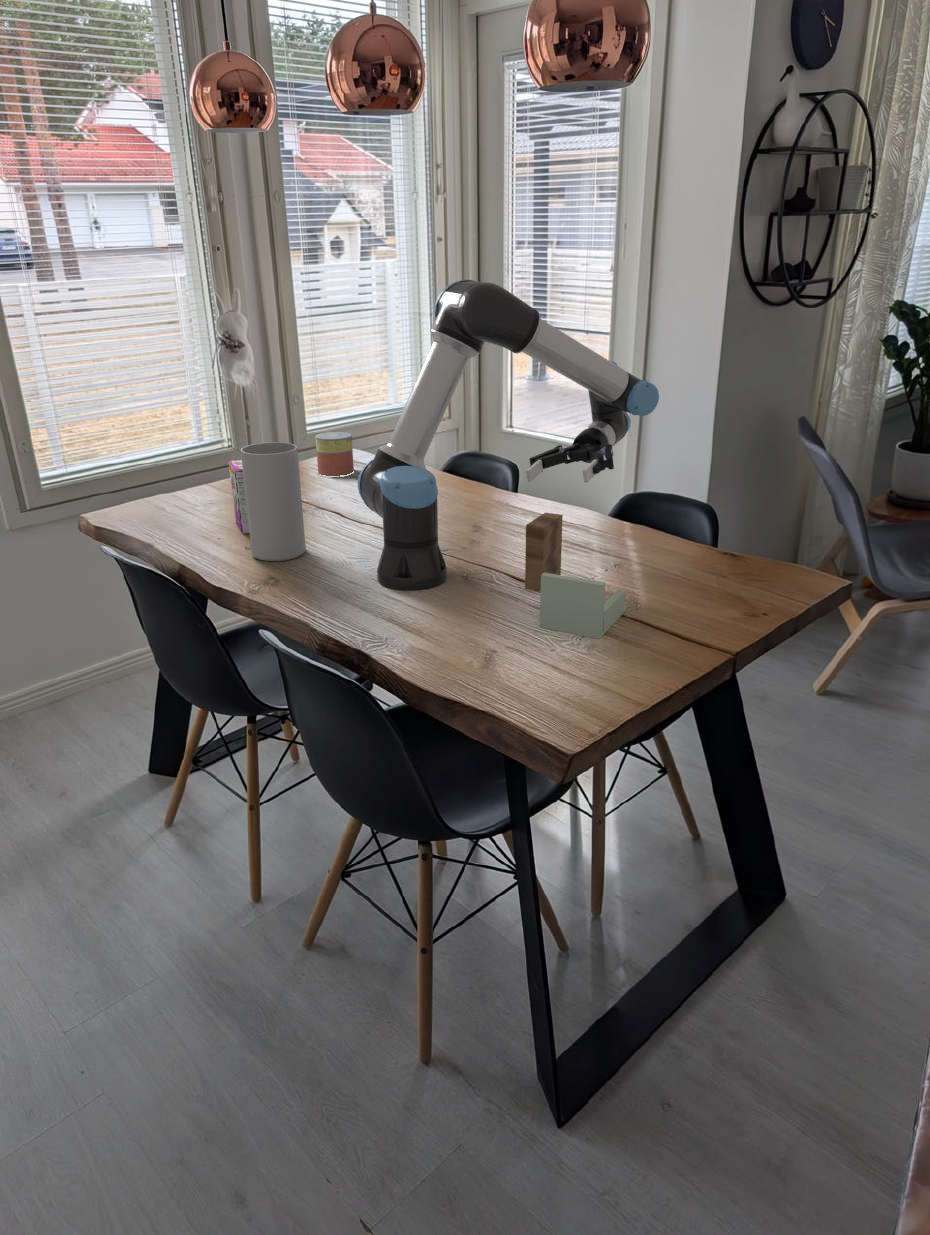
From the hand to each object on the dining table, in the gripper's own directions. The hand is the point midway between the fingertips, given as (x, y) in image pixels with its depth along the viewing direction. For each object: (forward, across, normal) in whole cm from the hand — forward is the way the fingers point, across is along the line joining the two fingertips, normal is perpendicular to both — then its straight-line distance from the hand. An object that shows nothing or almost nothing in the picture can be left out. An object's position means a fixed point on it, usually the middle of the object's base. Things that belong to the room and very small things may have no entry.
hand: (556, 476), depth 196 cm
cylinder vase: (+26, +62, -10) cm, 68 cm away
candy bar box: (+14, +83, -9) cm, 84 cm away
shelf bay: (+28, -16, -18) cm, 37 cm away
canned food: (-41, +98, -16) cm, 107 cm away
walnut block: (+14, 0, -18) cm, 23 cm away
